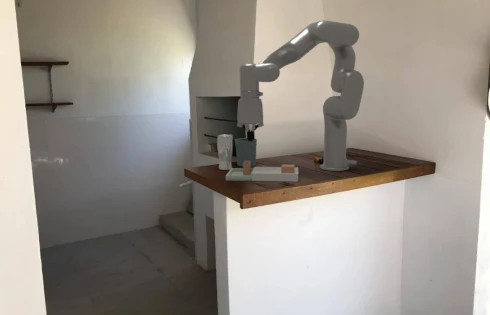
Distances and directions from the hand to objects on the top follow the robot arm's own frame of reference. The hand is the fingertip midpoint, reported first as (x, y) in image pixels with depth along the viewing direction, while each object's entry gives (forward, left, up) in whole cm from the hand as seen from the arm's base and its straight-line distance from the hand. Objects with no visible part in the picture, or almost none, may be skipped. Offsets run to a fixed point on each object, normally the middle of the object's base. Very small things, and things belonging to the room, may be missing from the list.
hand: (250, 141), depth 171 cm
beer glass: (+13, -13, -15) cm, 23 cm away
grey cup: (+5, -23, -15) cm, 28 cm away
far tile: (0, 0, -11) cm, 11 cm away
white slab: (-10, +3, -14) cm, 18 cm away
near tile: (-15, +6, -11) cm, 20 cm away
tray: (+4, +3, -14) cm, 15 cm away
